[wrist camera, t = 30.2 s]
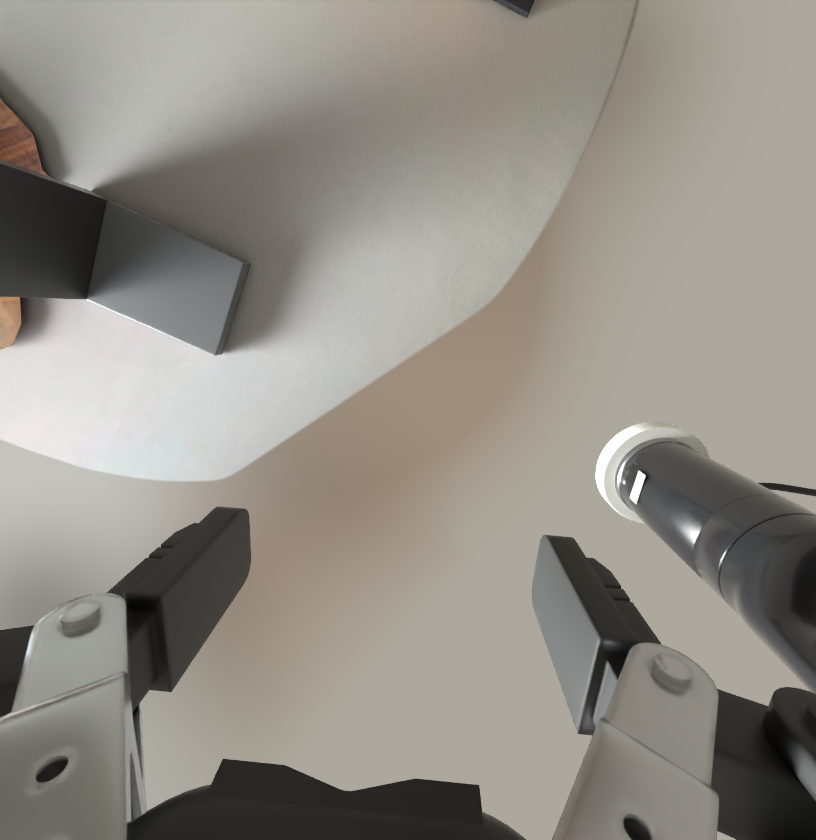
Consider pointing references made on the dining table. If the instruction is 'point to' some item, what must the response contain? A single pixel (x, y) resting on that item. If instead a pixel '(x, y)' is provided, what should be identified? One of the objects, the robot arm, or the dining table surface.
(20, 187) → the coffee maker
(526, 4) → the mat
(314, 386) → the dining table surface
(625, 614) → the robot arm
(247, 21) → the dining table surface
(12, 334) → the cutting board
